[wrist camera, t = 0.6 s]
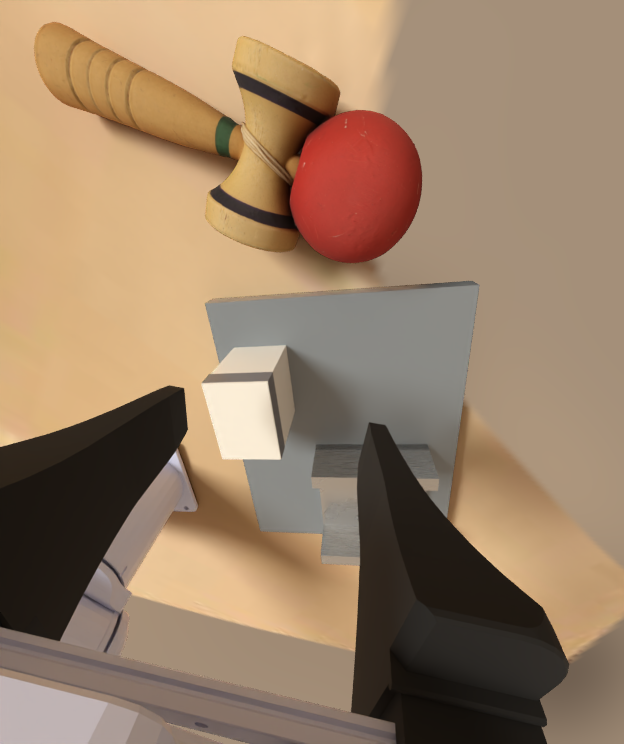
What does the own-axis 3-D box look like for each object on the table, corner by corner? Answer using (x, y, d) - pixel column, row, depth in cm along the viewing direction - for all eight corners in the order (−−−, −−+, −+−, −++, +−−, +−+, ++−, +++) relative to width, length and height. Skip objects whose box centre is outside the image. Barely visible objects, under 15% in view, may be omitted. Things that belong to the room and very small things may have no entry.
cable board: (263, 519, 30) (260, 531, 28) (212, 299, 20) (205, 303, 19) (440, 526, 27) (444, 538, 26) (472, 280, 18) (479, 284, 17)
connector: (247, 411, 23) (222, 459, 18) (233, 347, 20) (200, 383, 16) (295, 411, 22) (281, 459, 18) (286, 344, 20) (267, 381, 16)
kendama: (106, 182, 19) (372, 301, 18) (-13, 130, 13) (375, 303, 12) (135, 35, 17) (439, 160, 16) (8, -108, 11) (483, 77, 10)
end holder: (324, 526, 27) (321, 563, 24) (316, 444, 23) (311, 477, 20) (420, 529, 26) (428, 569, 23) (427, 444, 22) (439, 479, 19)
